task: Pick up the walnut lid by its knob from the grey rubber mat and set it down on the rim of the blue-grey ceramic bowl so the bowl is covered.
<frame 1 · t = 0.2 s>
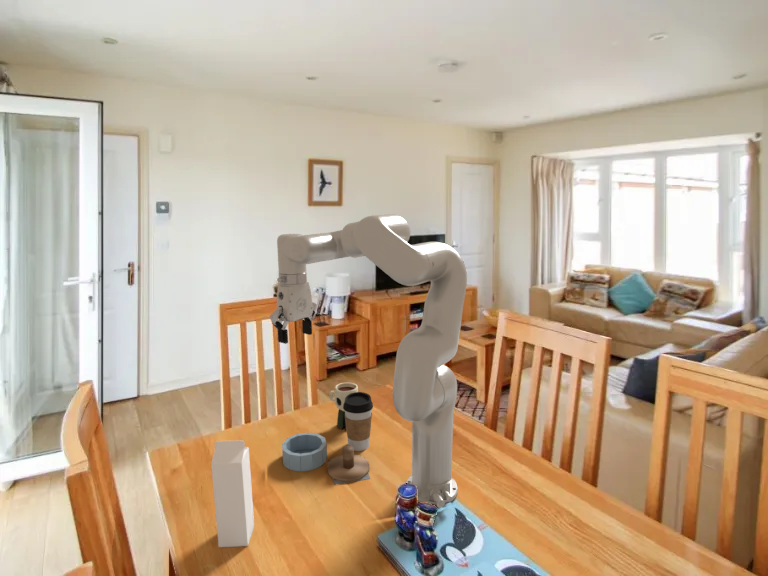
hand: (295, 338, 132), 31 cm above the table, fingers open, 9 cm apart
character mug: (347, 426, 144), on the table
mat: (348, 471, 120), on the table
bowl: (305, 460, 125), on the table
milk: (237, 537, 98), on the table
lid: (348, 469, 120), point 1 cm above the table, touching mat
coffee cup: (358, 447, 132), on the table
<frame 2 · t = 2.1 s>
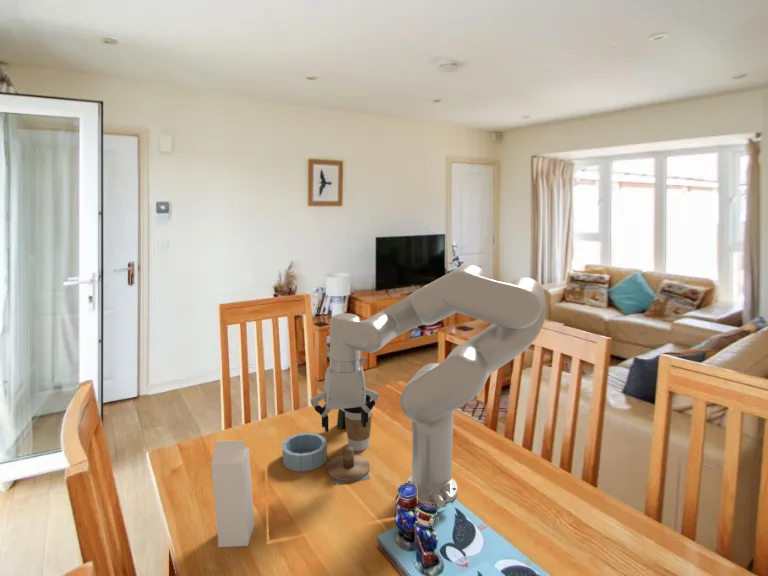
hand: (345, 427, 118), 12 cm above the table, fingers open, 9 cm apart
nothing on the table moved.
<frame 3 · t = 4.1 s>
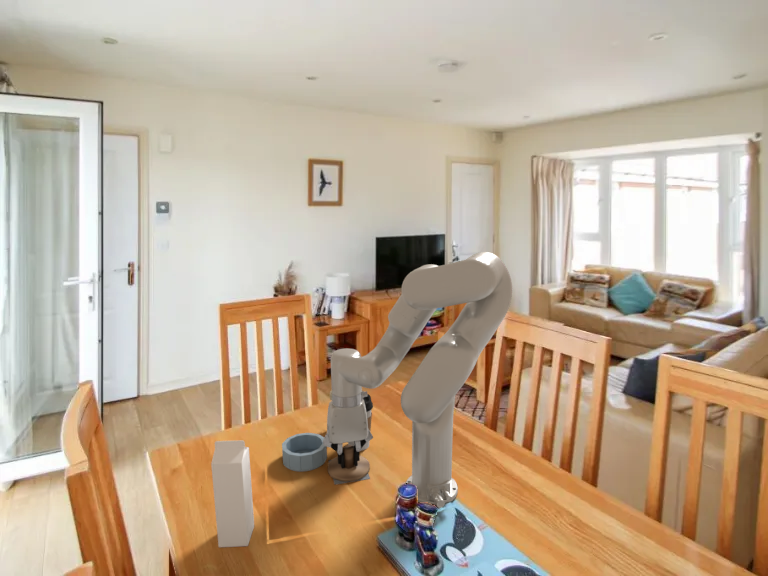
hand: (348, 463, 120), 2 cm above the table, fingers closed on lid, 2 cm apart
lid: (348, 468, 120), point 1 cm above the table, touching gripper
everything else where it was.
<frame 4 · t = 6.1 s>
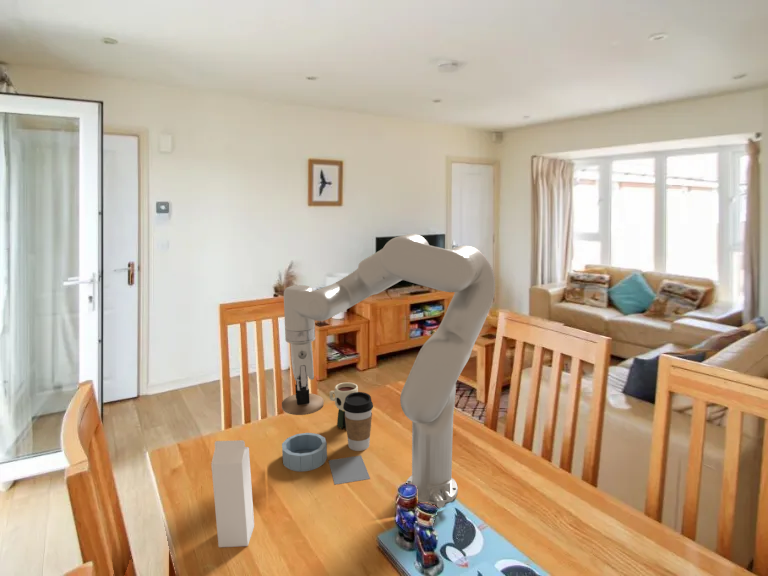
hand: (302, 400, 122), 17 cm above the table, fingers closed on lid, 2 cm apart
lid: (302, 405, 122), point 16 cm above the table, touching gripper
everything else where it was.
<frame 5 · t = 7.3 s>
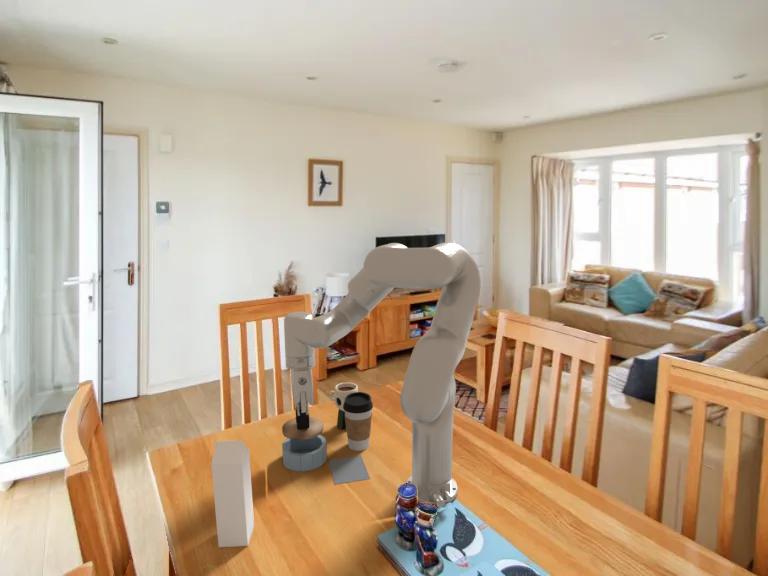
hand: (302, 424, 123), 11 cm above the table, fingers closed on lid, 2 cm apart
lid: (302, 429, 124), point 9 cm above the table, touching gripper
everything else where it was.
when the fingers open (8 cm above the table, at t = 8.4 s): lid drops 2 cm, resting on bowl.
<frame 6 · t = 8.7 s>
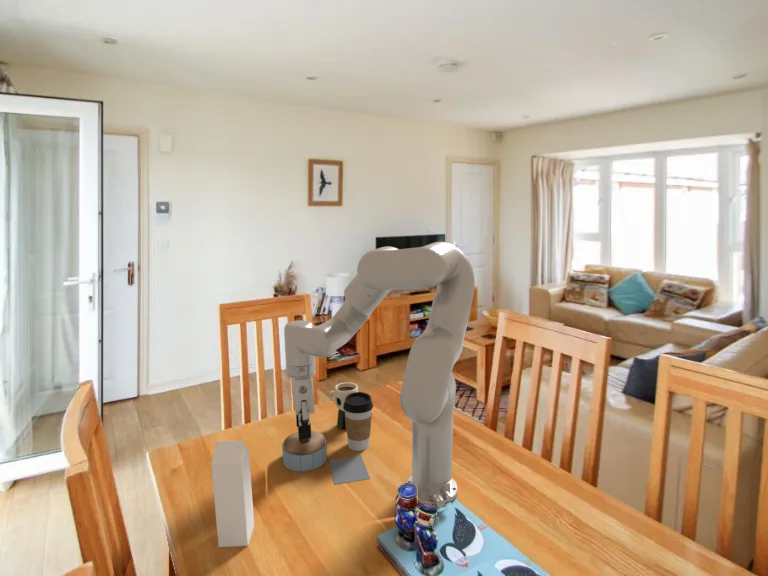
hand: (303, 431, 124), 9 cm above the table, fingers open, 6 cm apart
lid: (304, 443, 124), point 5 cm above the table, touching bowl
everything else where it was.
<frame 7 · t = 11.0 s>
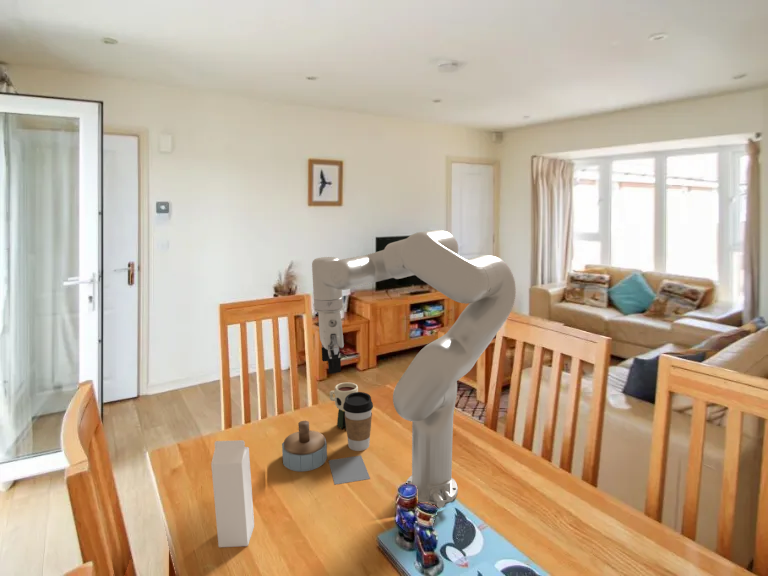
hand: (331, 366, 125), 25 cm above the table, fingers open, 9 cm apart
nothing on the table moved.
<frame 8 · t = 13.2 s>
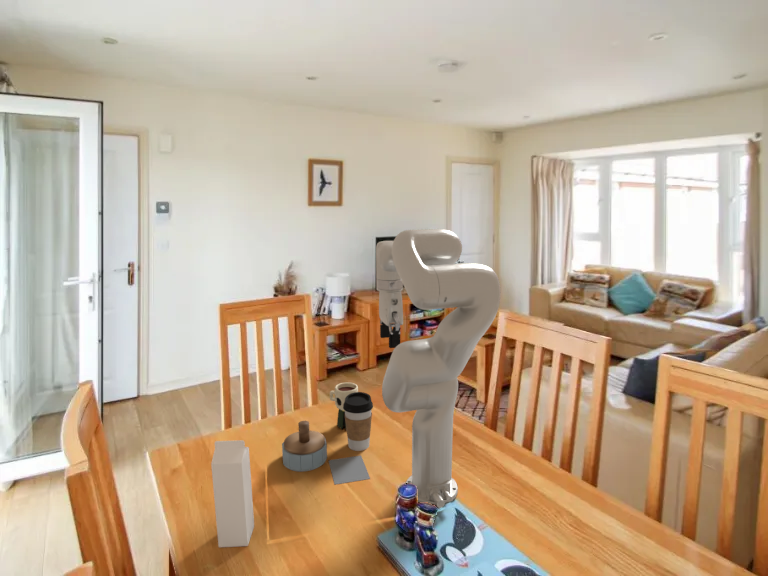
hand: (389, 342, 135), 28 cm above the table, fingers open, 9 cm apart
nothing on the table moved.
at the end: lid 0.1 cm off-centre on the bowl, point 5.0 cm above the bowl's base; lid tilted 0°; the gripper is holding nothing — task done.
